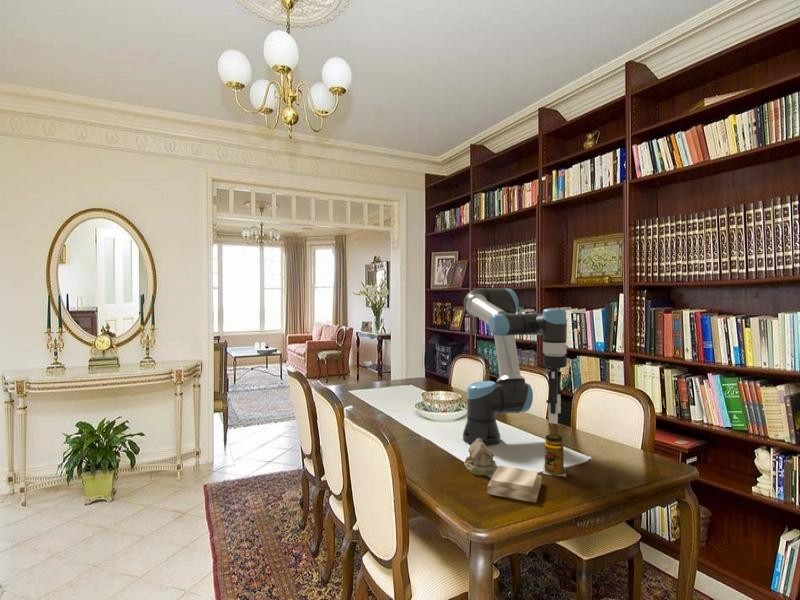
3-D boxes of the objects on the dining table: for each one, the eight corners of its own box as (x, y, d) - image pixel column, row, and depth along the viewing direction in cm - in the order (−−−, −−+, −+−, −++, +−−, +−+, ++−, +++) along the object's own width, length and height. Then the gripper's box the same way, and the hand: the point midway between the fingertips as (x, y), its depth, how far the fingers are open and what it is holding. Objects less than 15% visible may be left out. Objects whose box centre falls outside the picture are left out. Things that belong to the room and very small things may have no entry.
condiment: (542, 474, 145) (542, 438, 145) (544, 464, 153) (544, 430, 153) (566, 477, 142) (566, 440, 142) (566, 467, 150) (566, 432, 150)
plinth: (487, 493, 131) (487, 480, 131) (496, 475, 143) (496, 463, 143) (536, 502, 125) (536, 488, 125) (541, 483, 138) (541, 470, 138)
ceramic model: (461, 459, 158) (461, 432, 158) (492, 459, 158) (492, 432, 158) (467, 475, 144) (467, 445, 144) (501, 475, 144) (501, 445, 144)
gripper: (564, 360, 134) (564, 429, 134) (568, 350, 157) (568, 409, 157) (538, 359, 137) (539, 426, 137) (546, 349, 160) (546, 407, 160)
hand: (554, 417), depth 147 cm, fingers open, 13 cm apart
